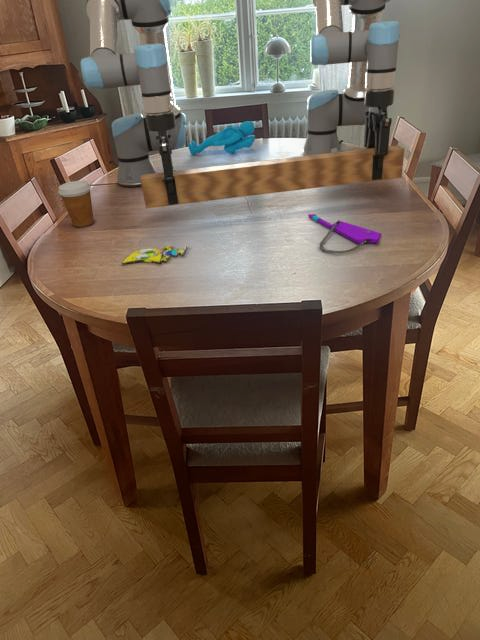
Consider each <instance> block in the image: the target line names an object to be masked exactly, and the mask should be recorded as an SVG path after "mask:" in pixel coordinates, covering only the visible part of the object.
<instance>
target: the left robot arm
mask: <svg viewBox="0 0 480 640" xmlns="http://www.w3.org/2000/svg"><path fill="white" fill-rule="evenodd" d="M85 8H86V15H87V17H88V19H89V56H87V57H83V58H81V60H80V71H81V75H82V76H81V77H82V79H83V83H84V85H85V87H86V88H87V89H88V90H101V91H103V90H105V89H113V88H122V87H131V86H134V87H135V86H139V87H140V93H141V100H142V106H143V107H142V108H143V112H144V113H145V114H146V115H145V117H144V116H143V114H142V113H132V114H128V115H125V116H122V117H119V118H116V119H114V120H113V121H112V122H111V132H112V138H113V141H114V146H115V151H116V155H117V160H118V162H115V161H114V160H110V161H109V164H108V165H111V164H112V163H113V164H114V165H115V166H116V167H117V168H118V170H117V183H118V186H120V187H123V188H124V187H125V188H136V187H137V188H138V187H142V185H141V180H140V179H141V175H145V174H153V173H158V172H157V169H156V168H155V166H154V163H153V161H152V159H151V156H150V152H158V154H159V156H160V158H161V165H162V170H163V172H164V177H165V178H164V180H162V181H163V182H165V185H166V191H167V197H168V203H169V205H170V204H178V197H177V191H176V184H175V180H174V179H175V178H174V175H173V171H177V170H174V165H173V158H172V154H173V150H176V149H182V148H183V147H184V146H186V143H187V126H186V125H187V124H186V114H185V113H183V112H181V108H180V107H178V105H176V98H175V94H174V87H173V86H174V84H173V77H172V73H171V72H172V71H171V65H170V64H171V63H170V55H169V49H168V43H167V42H168V41H167V36H166V35H167V34H166V27H167V26H168V25H169V23H170V22H169V17H171V16H172V15H173V12H172V8H171V3H170V0H86V7H85ZM127 20H128V21H129V20H130V21H131V26H132V27H133V29H135V30H136V31H137V33H138V38H139V44H138V45H136V46H135V47H134V49H133V50H134V52H132V53H121V54H120V51H119V34H118V33H119V32H118V23H119V22H120V21H127ZM170 206H171V205H170Z"/></svg>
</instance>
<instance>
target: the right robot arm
mask: <svg viewBox="0 0 480 640" xmlns="http://www.w3.org/2000/svg"><path fill="white" fill-rule="evenodd" d="M390 1H391V0H312V3H313V6H314V8H315V15H316V17H315V19H316V20H315V21H316V34H313V35H312V36H311V37H310V42H309V43H310V51H309V52H310V54H309V55H310V64H311V65H312V66H313V65H314V66H327V65H338V64H349V75H348V84H347V85H346V86H345V87H344V90H343V93H339V91H338V89H326V90H322V91H318V92H315V93H312V94H311V95H310V96H309V97H308V98H307V106H306V111H307V119H306V120H307V121H306V122H307V125H306V127H307V128H306V129H307V131H306V133H307V135H306V139H305V142H304V144H303V148H302V156H309V155H318V154H326V153H335V152H342V148H341V144H342V143H343V142H344V140H343V139H341V140H339V137H338V127H347V126H348V127H351V126H364V137H363V148H364V149H370V148H375V155H372V156H373V169H372V180H377V179H382V170H383V158H384V156H385V155H388V146H390V145H389V144H390V134H391V133H390V132H391V126H392V122H393V119H392V117H388V107H389V106H393V104H394V99H395V90H394V89H393V88H395V86H396V85H395V84H396V78H397V76H398V75H397V73H396V71H397V60H398V51H399V42H400V23H399V21H398V20H391V21H390V20H388V21H387V20H385V21H380V15H381V13H383V12H384V10H385V9H386V3H389V2H390ZM342 6H348V11H349V13H350V14H351V15H352V16H353V17H352V28H351V29H352V31H344V21H343V11H342V10H343V9H342V8H343V7H342ZM377 181H378V180H377Z"/></svg>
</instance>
